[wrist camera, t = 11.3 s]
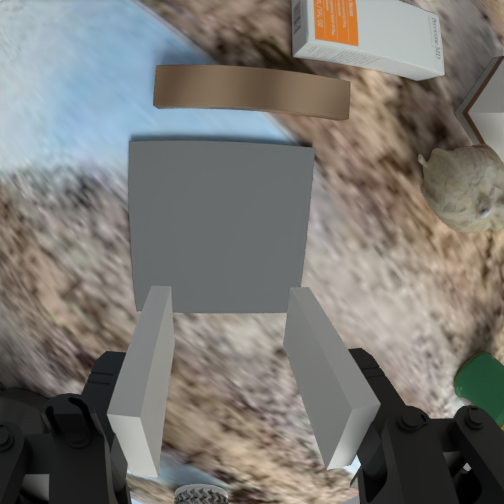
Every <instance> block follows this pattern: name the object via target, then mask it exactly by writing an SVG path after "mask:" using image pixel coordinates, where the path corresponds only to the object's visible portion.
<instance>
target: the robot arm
mask: <svg viewBox="0 0 504 504" xmlns="http://www.w3.org/2000/svg"><path fill="white" fill-rule="evenodd" d="M283 345H284V348H285V350H286V353H287V356H288V359H289V362H290V365H291V368H292V371H293V374H294V377H295V380H296V382H297V385H298V388H299V391H300V394H301V397H302V400H303V403H304V406H305V409H306V411H307V414H308V417H309V420H310V423H311V426H312V429H313V432H314V435H315V438H316V441H317V443H318V446H319V449H320V452H321V455H322V458H323V461H324V464H325V467H326V470H328V469H334V468H339V467H344V466H349V465H351V464H352V462H353V460H354V458H355V456H356V455H357V456H358V459H359V461H360V463H361V466H360V468H359V469H358V471H357V473H356V474H355V476H354V478H353V479H352V481H351V483H350V488H354V486H355V485H356V483H357V482H358V488H359V497H360V504H504V432H503V430H502V429H501V428H500V427H499V425H498V424H497V423H496V422H495V421H494V419H493V418H492V417H491V416H490V415H489V414H488V413H487V412H486V411H485V410H484V409H482V408H480V407H478V406H473V405H467V406H463V407H461V408H460V409H458V411H457V412H456V414H455V416H454V417H453V418H445V419H431V418H429V416H428V415H427V414H426V413H425V412H424V411H422V410H421V409H419V408H416V407H414V406H406V405H405V403H404V402H403V400H402V399H401V397H400V396H399V394H398V393H397V391H396V390H395V388H394V387H393V385H392V384H391V382H390V381H389V380H388V378H387V377H386V376H385V374H384V372H383V371H382V369H381V368H379V365H378V363H377V362H376V361H375V359H374V358H373V356H372V355H370V354H369V353H367V352H366V351H365V350H363V349H362V348H356V349H347V347H346V346H345V344H344V343H343V341H342V339H341V338H340V336H339V334H338V333H337V331H336V330H335V328H334V326H333V325H332V323H331V322H330V320H329V318H328V317H327V315H326V314H325V312H324V310H323V309H322V307H321V306H320V304H319V302H318V301H317V299H316V298H315V296H314V295H313V293H312V291H311V290H310V288H309V287H290V296H289V304H288V312H287V320H286V327H285V335H284V342H283ZM174 346H175V341H174V328H173V313H172V296H171V286H151V289H150V291H149V294H148V296H147V299H146V302H145V304H144V307H143V309H142V312H141V315H140V317H139V320H138V323H137V325H136V328H135V331H134V333H133V336H132V339H131V342H130V345H129V347H128V350H127V353H125V352H112V351H106V352H105V353H104V354H103V355H101V356H100V357H99V358H98V359H97V360H96V362H95V364H94V366H93V368H92V371H91V374H90V375H89V378H88V380H87V383H86V385H85V387H84V389H83V392H82V394H81V395H79V394H72V393H67V394H60V395H57V396H55V397H53V398H51V399H49V400H48V399H46V398H44V397H42V396H40V395H38V394H36V393H33V392H30V391H27V390H24V389H19V388H8V389H5V390H3V391H2V392H1V393H0V504H132V503H131V497H130V491H129V487H128V484H127V482H126V480H125V479H126V473H127V467H128V468H129V470H130V473H131V475H136V476H145V477H155V478H158V477H159V466H160V455H161V445H162V436H163V427H164V419H165V410H166V402H167V395H168V387H169V380H170V373H171V366H172V359H173V353H174ZM466 463H468V464H469V466H470V467H471V469H470V471H466V470H465V469H464V468H463V467H464V465H465V464H466Z"/></svg>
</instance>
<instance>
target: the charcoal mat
mask: <svg viewBox="0 0 504 504" xmlns="http://www.w3.org/2000/svg"><path fill="white" fill-rule="evenodd" d="M314 154H315V148H310V147H300V146H290V145H278V144H264V143H249V142H228V141H187V140H169V141H129V219H130V241H131V257H132V270H133V282H134V292H135V302H136V310H137V311H142V309H143V307H144V304H145V302H146V299H147V296H148V294H149V291H150V289H151V286H171V296H172V312H176V313H287V312H288V304H289V296H290V287H301V281H302V273H303V265H304V256H305V248H306V239H307V230H308V220H309V210H310V200H311V190H312V179H313V167H314Z"/></svg>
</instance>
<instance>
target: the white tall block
mask: <svg viewBox="0 0 504 504" xmlns="http://www.w3.org/2000/svg"><path fill="white" fill-rule="evenodd" d="M455 115H456V117H457V118H458V120H459V121H460V123H461V124H462V126H463V128H464V129H465V131H466V132H467V134H468V136H469V137H470V139H471V141H472V143H473V144H474V145H477V144H487V145H489V146H490V147H491V148H492V149H493V150H494V151H495V152H496V153H497V154H498V156H499V157H500V159H501V160H502V162H503V163H504V56H501V57H494V58H493V59H492V60H491V62H490V63H489V65H488V66H487V68H486V69H485V71H484V72H483V73H482V75H481V76H480V78H479V79H478V81H477V82H476V84H475V85H474V86H473V88H472V89H471V91H470V92H469V93H468V95H467V96H466V98H465V99H464V100H463V102H462V103H461V104H460V106H459V107H458V108H457V110H456V111H455Z"/></svg>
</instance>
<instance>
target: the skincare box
mask: <svg viewBox="0 0 504 504" xmlns="http://www.w3.org/2000/svg"><path fill="white" fill-rule="evenodd" d="M291 1H292V53H293V57H295V58H302V59H311V60H319V61H326V62H333V63H339V64H346V65H351V66H357V67H362V68H367V69H372V70H377V71H381V72H386V73H390V74H394V75H398V76H402V77H406V78H409V79H413V80H416V81H419V80H424V79H428V78H433V77H438V76H443V75H445V73H444V61H443V49H442V40H441V32H440V24H439V17H438V16H437V15H435V14H433V13H431V12H428V11H426V10H423V9H421V8H418V7H416V6H413V5H411V4H408V3H405V2H402V1H400V0H291Z"/></svg>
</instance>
